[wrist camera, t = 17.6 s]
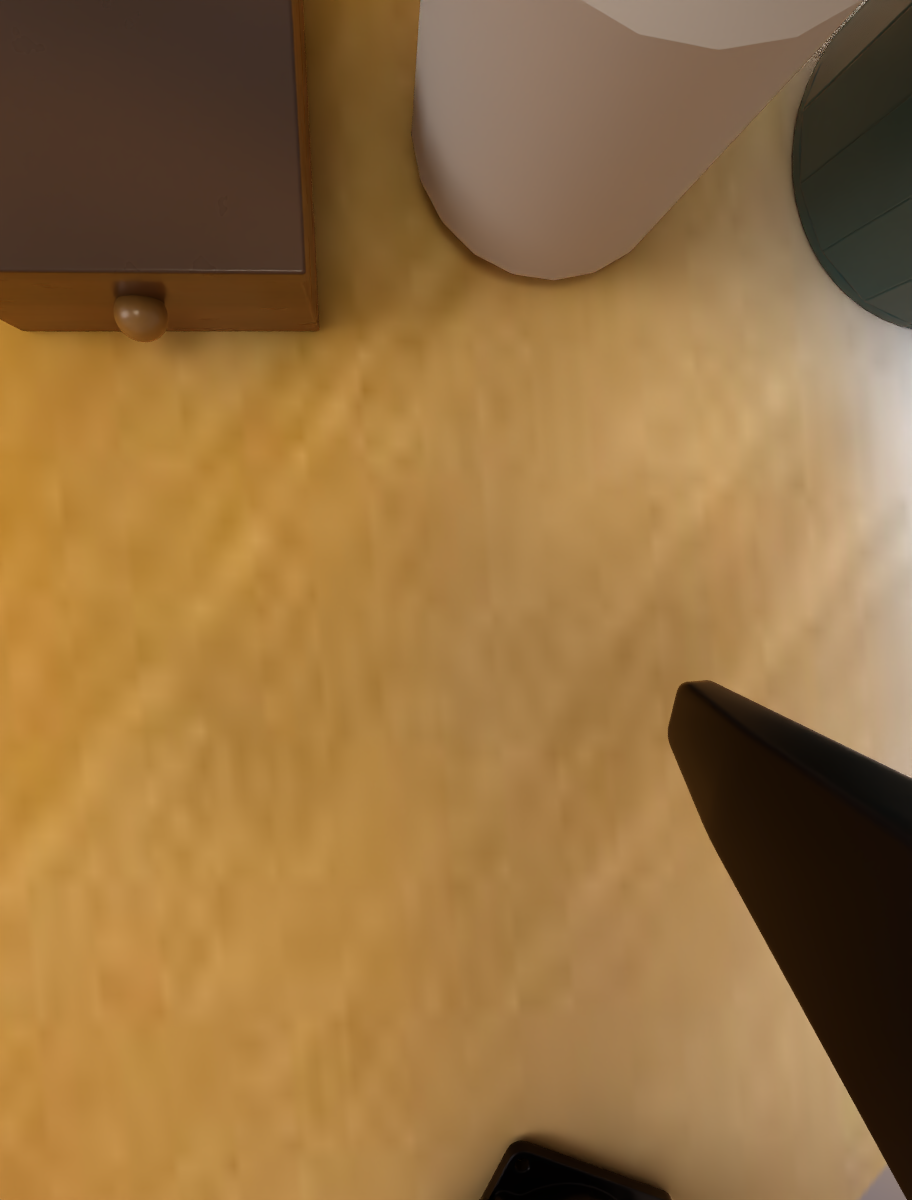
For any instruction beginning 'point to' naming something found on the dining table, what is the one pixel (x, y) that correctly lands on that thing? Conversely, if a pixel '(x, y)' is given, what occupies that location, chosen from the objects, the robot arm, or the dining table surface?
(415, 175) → the dining table surface
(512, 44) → the can
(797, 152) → the pot
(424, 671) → the dining table surface
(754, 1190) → the dining table surface
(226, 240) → the walnut box
